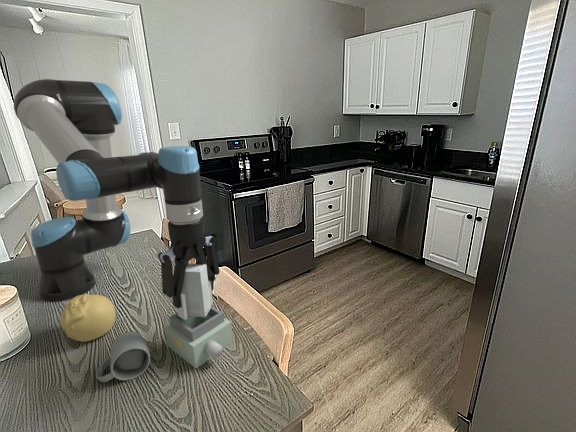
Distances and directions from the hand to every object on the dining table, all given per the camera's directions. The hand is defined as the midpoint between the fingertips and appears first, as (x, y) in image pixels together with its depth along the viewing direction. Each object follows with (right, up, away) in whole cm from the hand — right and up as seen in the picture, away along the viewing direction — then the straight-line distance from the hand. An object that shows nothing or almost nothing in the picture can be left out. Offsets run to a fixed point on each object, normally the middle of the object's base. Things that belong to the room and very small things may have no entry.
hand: (196, 309), depth 74 cm
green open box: (+1, -10, +2) cm, 10 cm away
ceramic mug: (-14, -12, -5) cm, 20 cm away
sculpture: (-30, -9, +7) cm, 32 cm away
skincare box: (0, -1, 0) cm, 1 cm away
